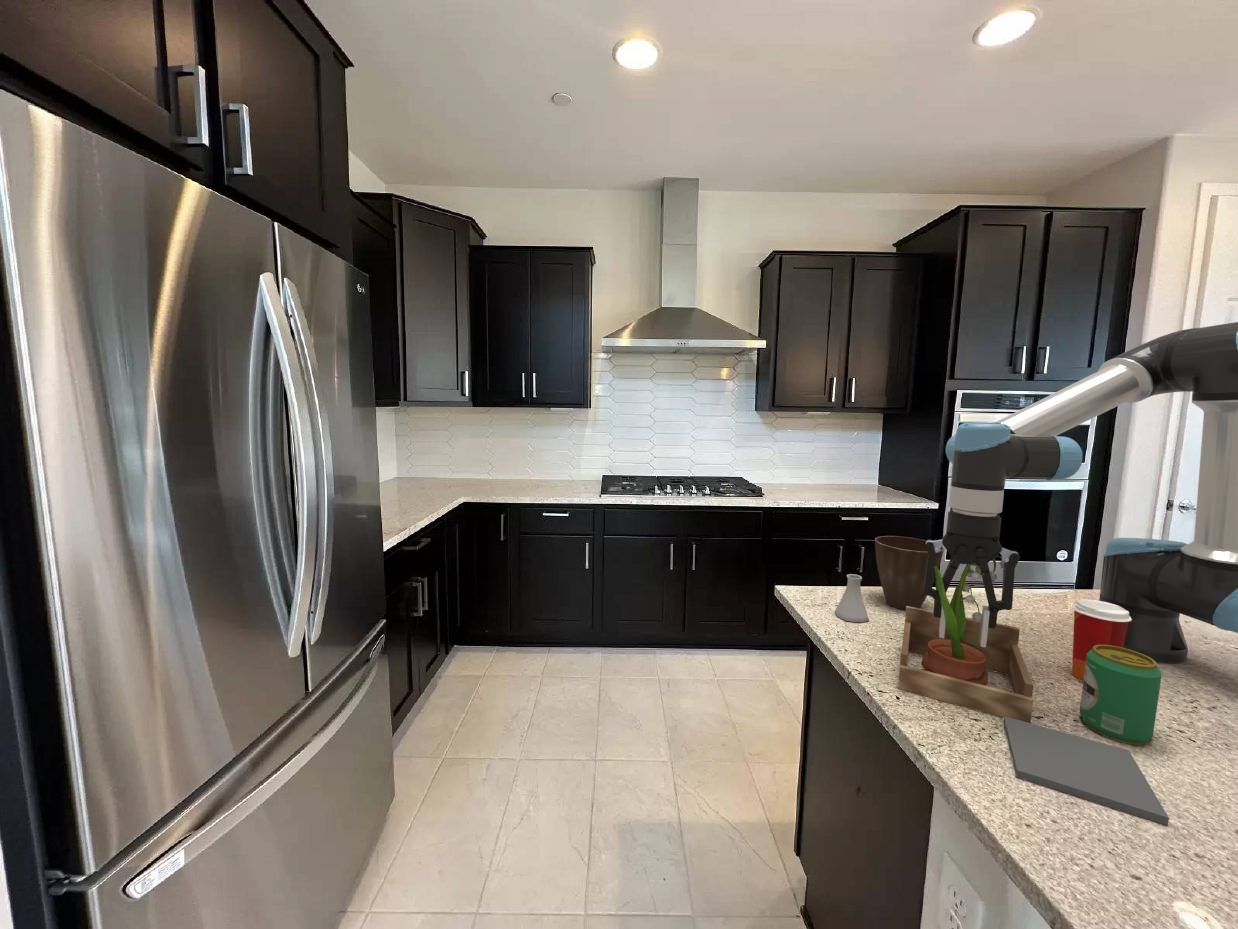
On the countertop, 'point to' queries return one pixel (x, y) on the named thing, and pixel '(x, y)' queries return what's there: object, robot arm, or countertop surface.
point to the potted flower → (957, 633)
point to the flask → (852, 602)
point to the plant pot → (903, 569)
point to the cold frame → (971, 695)
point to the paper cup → (1096, 629)
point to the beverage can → (1120, 694)
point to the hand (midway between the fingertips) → (961, 639)
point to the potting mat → (1082, 768)
